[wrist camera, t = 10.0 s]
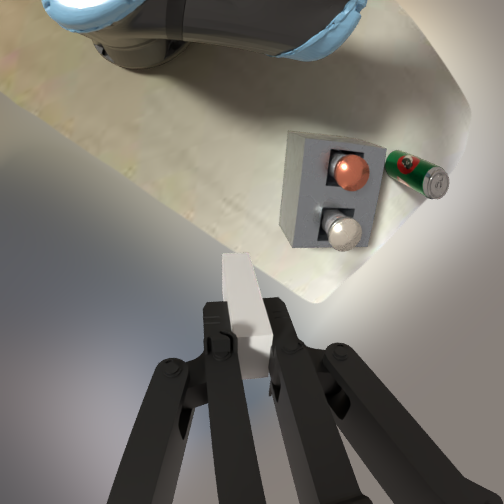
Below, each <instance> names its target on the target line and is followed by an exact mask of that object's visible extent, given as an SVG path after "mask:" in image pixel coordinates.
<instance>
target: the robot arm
mask: <svg viewBox="0 0 504 504" xmlns="http://www.w3.org/2000/svg"><path fill="white" fill-rule="evenodd" d="M42 4H43V7H44V9H45V11H46V12H47V14H48V15H49V16H50V17H51V18H52V19H53V20H54V21H56V22H57V23H58V24H59V25H60V26H61V27H62V28H65V29H66V30H70V31H71V32H76V33H79V34H81V35H84V36H86V37H88V38H91V39H92V41H93V43H94V46H95V48H96V49H97V51H98V52H99V53H100V54H101V55H102V56H103V57H104V58H105V59H106V60H108V61H109V62H111V63H113V64H116V65H118V66H121V67H124V68H129V69H146V68H152V67H155V66H159V65H161V64H164V63H166V62H168V61H170V60H171V59H173V58H175V57H176V56H177V55H179V54H180V53H181V52H182V51H183V50H184V49H185V48H186V47H187V46H188V45H189V44H190V42H198V43H206V44H213V45H220V46H226V47H232V48H238V49H243V50H248V51H253V52H258V53H263V54H265V55H267V56H270V57H276V58H281V57H285V58H290V59H294V60H299V61H316V60H319V59H322V58H324V57H326V56H328V55H330V54H331V53H332V52H334V51H335V50H336V49H338V48H339V47H340V46H341V45H342V44H343V43H344V42H345V41H346V39H347V38H348V37H349V36H350V35H351V33H352V32H353V31H354V29H355V28H356V26H357V24H358V22H359V20H360V19H361V15H360V11H361V10H362V9H363V8H364V7H365V6H366V4H367V0H42ZM222 280H223V281H222V283H223V299H224V301H222V302H221V301H220V302H207V303H206V305H205V306H204V308H203V322H204V351H203V353H202V354H201V355H200V356H199V357H198V358H196V359H194V360H191V361H188V362H184V361H183V360H180V359H177V358H168V359H165V360H163V361H161V362H160V363H159V364H158V365H157V367H156V369H155V371H154V374H153V376H152V379H151V381H150V384H149V386H148V389H147V392H146V394H145V397H144V399H143V402H142V405H141V407H140V410H139V413H138V415H137V418H136V421H135V423H134V426H133V429H132V432H131V434H130V437H129V440H128V443H127V445H126V448H125V451H124V454H123V457H122V460H121V462H120V465H119V468H118V471H117V474H116V477H115V480H114V483H113V486H112V489H111V492H110V495H109V498H108V501H107V504H172V502H173V498H174V493H175V489H176V485H177V480H178V476H179V472H180V468H181V464H182V460H183V456H184V452H185V447H186V443H187V439H188V435H189V431H190V427H191V422H192V419H193V415H194V411H195V407H198V406H201V405H204V404H207V403H208V407H209V418H210V429H211V439H212V449H213V458H214V467H215V475H216V484H217V492H218V499H219V504H266V501H265V496H264V491H263V486H262V481H261V477H260V471H259V467H258V461H257V456H256V451H255V446H254V441H253V436H252V430H251V425H250V420H249V414H248V409H247V403H246V398H245V393H244V387H243V381H242V380H243V379H253V378H263V377H268V373H270V377H271V381H270V388H269V396H271V395H272V396H273V400H274V404H275V408H276V412H277V416H278V420H279V424H280V428H281V432H282V436H283V440H284V444H285V448H286V452H287V456H288V460H289V464H290V468H291V472H292V476H293V480H294V483H295V487H296V491H297V495H298V499H299V503H300V504H373V503H372V501H371V500H370V499H369V497H367V496H365V495H363V494H362V493H361V491H360V489H359V486H358V483H357V480H356V478H355V475H354V472H353V469H352V466H351V464H350V461H349V458H348V456H347V453H346V450H345V447H344V445H343V442H342V439H341V437H340V434H339V431H338V429H337V426H338V427H339V429H340V430H341V432H342V433H343V434H344V436H345V437H346V439H347V440H348V441H349V443H350V444H351V445H352V447H353V448H354V450H355V451H356V452H357V454H358V455H359V457H360V458H361V459H362V461H363V462H364V464H365V465H366V466H367V468H368V469H369V470H370V472H371V473H372V475H373V476H374V477H375V479H376V480H377V481H378V483H379V484H380V485H381V487H382V488H383V489H384V491H385V492H386V493H387V495H388V496H389V497H390V499H391V500H392V501H393V503H394V504H503V501H502V499H501V497H500V496H498V495H497V494H496V493H494V492H492V491H490V490H487V489H486V488H484V487H482V486H480V485H478V484H476V483H474V482H472V481H470V480H468V479H467V478H465V477H463V476H462V474H461V473H460V472H459V471H458V470H457V469H456V467H455V466H454V465H453V464H452V463H451V461H450V460H449V459H448V458H447V457H446V455H444V453H443V452H442V451H441V450H440V449H439V447H438V446H437V445H436V444H435V443H434V442H433V440H432V439H431V438H430V437H429V436H428V434H426V432H425V431H424V430H423V429H422V428H421V426H420V425H419V424H418V423H417V422H416V421H415V419H414V418H413V417H412V416H411V415H410V414H409V413H408V411H407V410H406V409H405V408H404V407H403V406H402V404H401V403H400V402H399V401H398V400H397V399H396V398H395V396H394V395H393V394H392V393H391V392H390V391H389V390H388V388H387V387H386V386H385V385H384V384H383V383H382V382H381V380H380V379H379V378H378V377H377V376H376V375H375V374H374V372H373V371H372V370H371V369H370V368H369V367H368V366H367V364H366V363H365V362H364V361H363V360H362V359H361V358H360V357H359V356H358V354H357V353H356V352H355V351H354V350H353V349H352V348H351V347H350V346H349V345H346V344H344V343H333V344H331V345H329V346H328V347H327V348H326V350H321V349H314V348H310V347H307V346H306V345H305V344H304V342H302V341H301V340H299V339H298V337H297V334H296V332H295V329H294V326H293V324H292V321H291V319H290V316H289V313H288V311H287V308H286V305H285V303H284V302H283V301H282V300H281V299H279V298H278V297H274V298H262V295H261V292H260V289H259V285H258V282H257V278H256V275H255V272H254V268H253V265H252V261H251V258H250V255H249V252H245V253H222ZM336 425H337V426H336Z"/></svg>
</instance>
